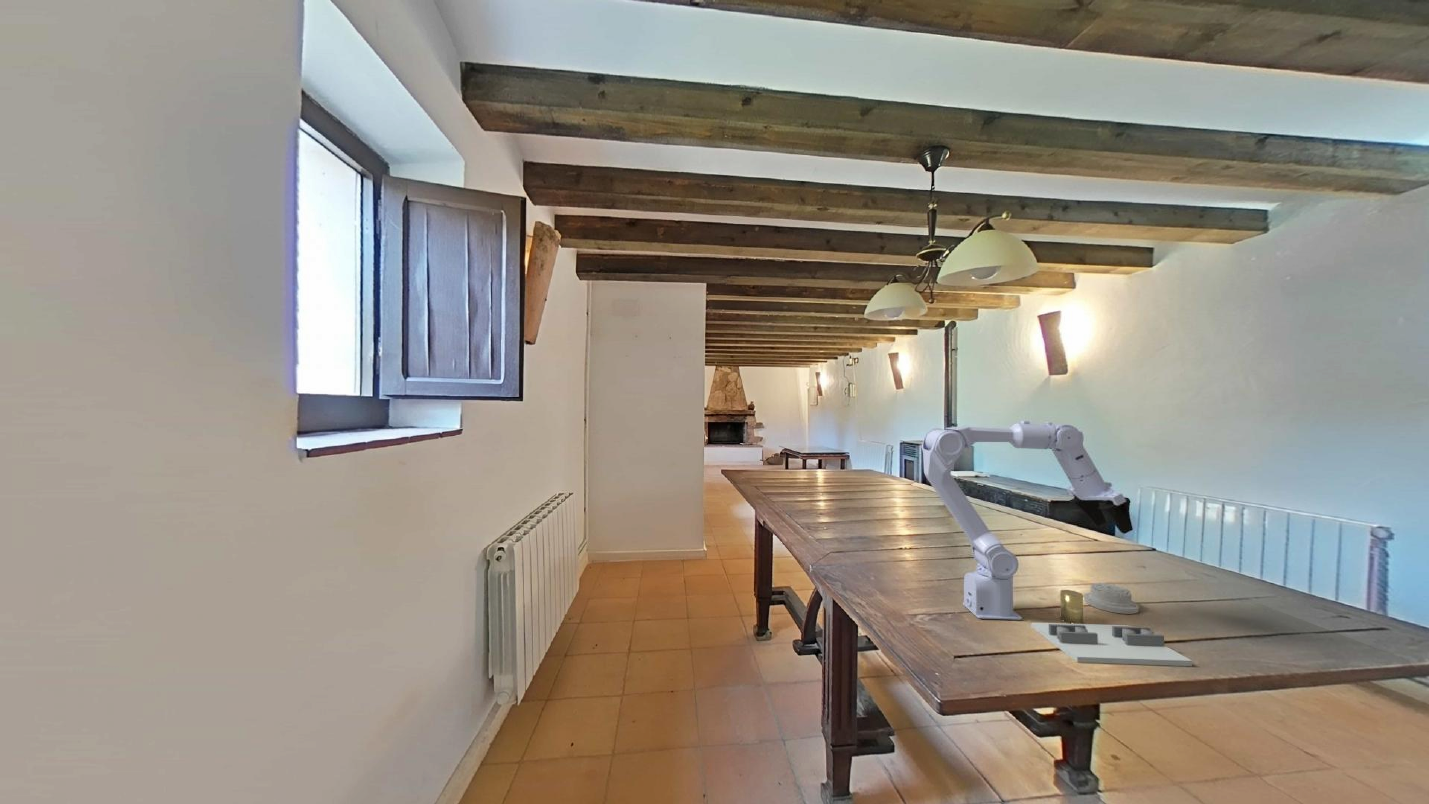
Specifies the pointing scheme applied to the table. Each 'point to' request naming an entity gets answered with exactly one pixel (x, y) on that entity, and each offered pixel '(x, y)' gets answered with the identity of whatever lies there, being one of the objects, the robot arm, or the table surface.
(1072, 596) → the pin
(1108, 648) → the chain base
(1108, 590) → the mechanical component
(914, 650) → the table surface
